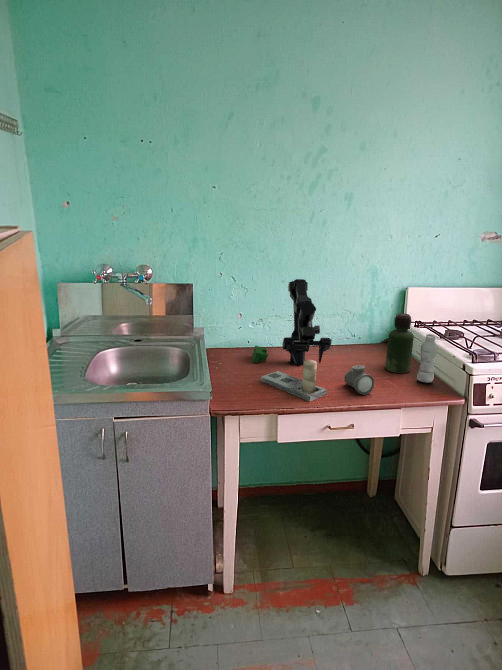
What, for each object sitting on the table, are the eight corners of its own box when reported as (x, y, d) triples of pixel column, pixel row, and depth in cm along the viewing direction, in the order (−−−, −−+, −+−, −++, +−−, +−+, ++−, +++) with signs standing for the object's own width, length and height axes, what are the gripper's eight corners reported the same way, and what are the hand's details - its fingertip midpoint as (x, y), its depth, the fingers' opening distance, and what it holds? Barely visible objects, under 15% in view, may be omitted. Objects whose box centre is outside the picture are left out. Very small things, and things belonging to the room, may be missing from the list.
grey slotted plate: (277, 375, 200) (278, 370, 200) (326, 394, 182) (327, 389, 182) (260, 381, 194) (261, 376, 193) (309, 401, 176) (310, 396, 175)
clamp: (262, 371, 216) (268, 358, 211) (251, 368, 216) (256, 355, 210) (263, 354, 225) (268, 341, 220) (252, 352, 224) (257, 339, 219)
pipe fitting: (375, 393, 184) (374, 367, 181) (357, 397, 181) (356, 371, 179) (359, 384, 195) (357, 360, 193) (341, 388, 192) (340, 364, 190)
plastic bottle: (425, 385, 192) (431, 338, 187) (412, 380, 198) (418, 334, 192) (436, 383, 195) (443, 336, 190) (424, 377, 201) (430, 332, 195)
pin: (307, 390, 186) (309, 359, 182) (317, 394, 182) (319, 362, 179) (299, 393, 183) (300, 361, 179) (309, 397, 179) (311, 365, 175)
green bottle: (395, 375, 203) (401, 318, 196) (380, 366, 213) (386, 312, 205) (414, 372, 207) (421, 316, 200) (399, 364, 216) (405, 311, 209)
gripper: (284, 317, 183) (286, 353, 176) (332, 317, 184) (336, 354, 177) (281, 331, 193) (283, 366, 186) (327, 331, 194) (330, 366, 187)
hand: (308, 363), depth 183 cm, fingers open, 9 cm apart
